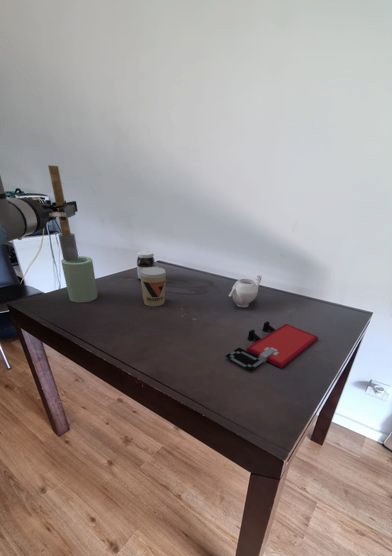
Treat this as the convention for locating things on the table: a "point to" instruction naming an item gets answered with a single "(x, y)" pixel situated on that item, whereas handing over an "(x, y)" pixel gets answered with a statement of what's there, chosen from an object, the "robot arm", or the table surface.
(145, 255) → the spread jar
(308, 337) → the red board with handle
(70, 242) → the bottle brush
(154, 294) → the coffee cup
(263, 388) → the table surface
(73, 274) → the green cylindrical holder
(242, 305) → the teapot
